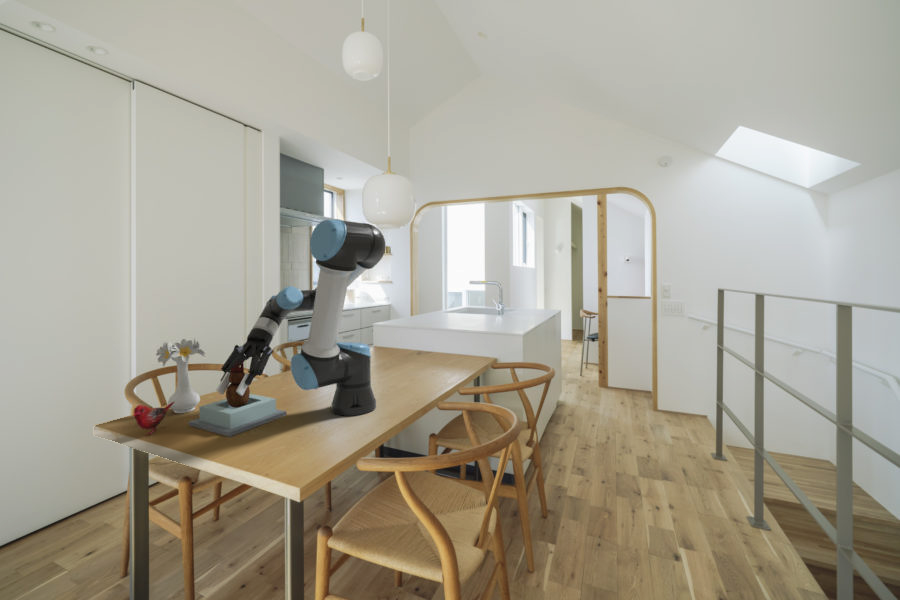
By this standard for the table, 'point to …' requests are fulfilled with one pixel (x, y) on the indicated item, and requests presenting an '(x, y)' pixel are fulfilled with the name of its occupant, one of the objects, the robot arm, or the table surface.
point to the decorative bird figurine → (150, 416)
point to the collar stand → (237, 415)
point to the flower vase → (181, 373)
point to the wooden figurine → (235, 381)
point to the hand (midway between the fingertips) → (229, 392)
